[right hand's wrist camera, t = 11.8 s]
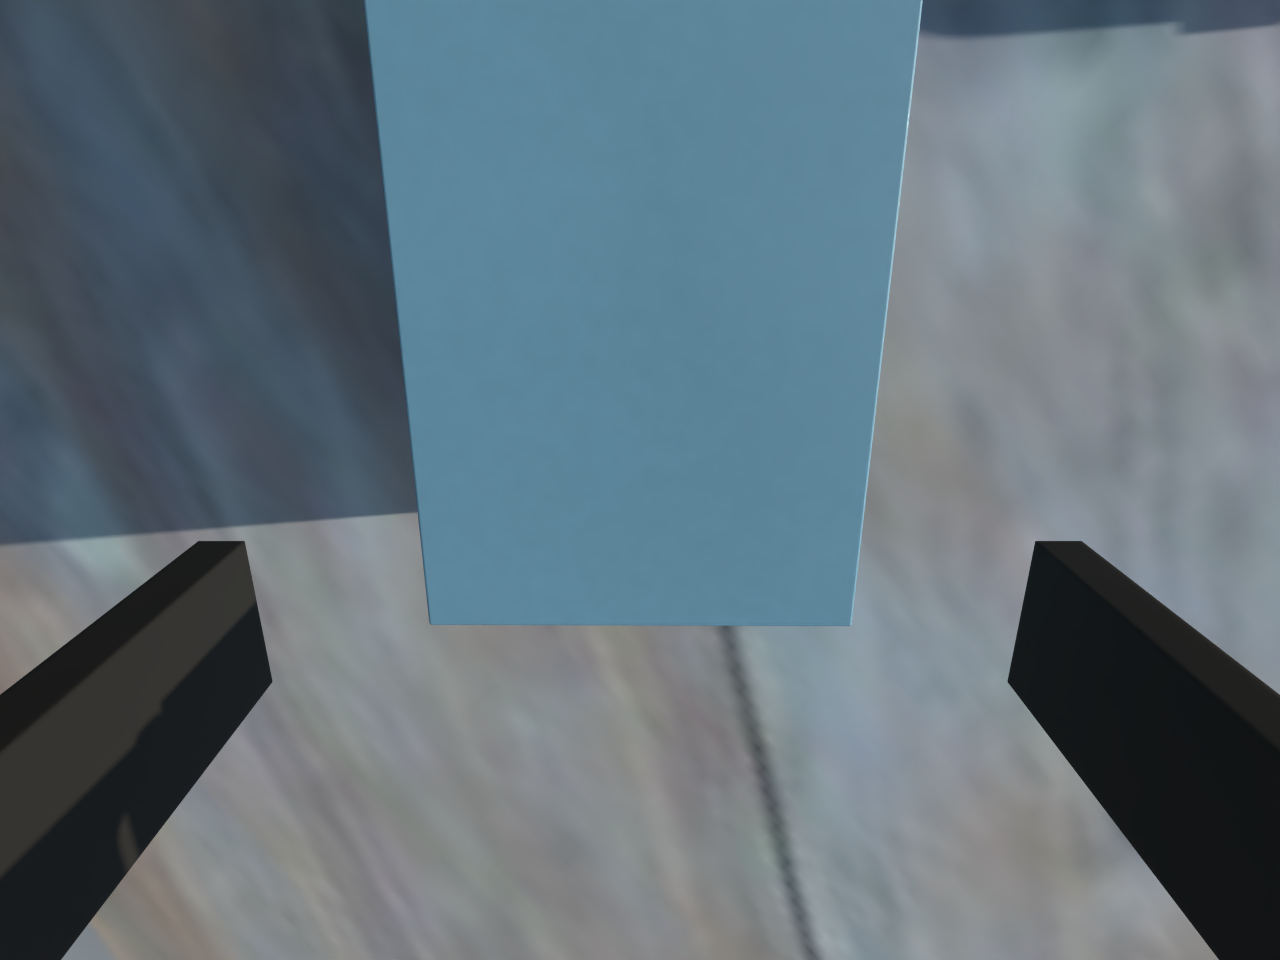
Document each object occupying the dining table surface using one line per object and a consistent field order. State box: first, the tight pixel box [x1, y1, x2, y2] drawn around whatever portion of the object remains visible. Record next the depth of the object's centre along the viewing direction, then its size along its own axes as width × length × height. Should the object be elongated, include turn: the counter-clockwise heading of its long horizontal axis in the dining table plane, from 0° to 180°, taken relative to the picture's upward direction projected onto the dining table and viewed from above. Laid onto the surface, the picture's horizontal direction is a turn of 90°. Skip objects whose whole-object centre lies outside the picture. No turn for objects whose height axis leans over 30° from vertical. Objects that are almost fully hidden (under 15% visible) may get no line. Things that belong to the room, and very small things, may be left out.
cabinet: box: [364, 0, 923, 626], centre depth 20 cm, size 21×10×10 cm, turn 0°
